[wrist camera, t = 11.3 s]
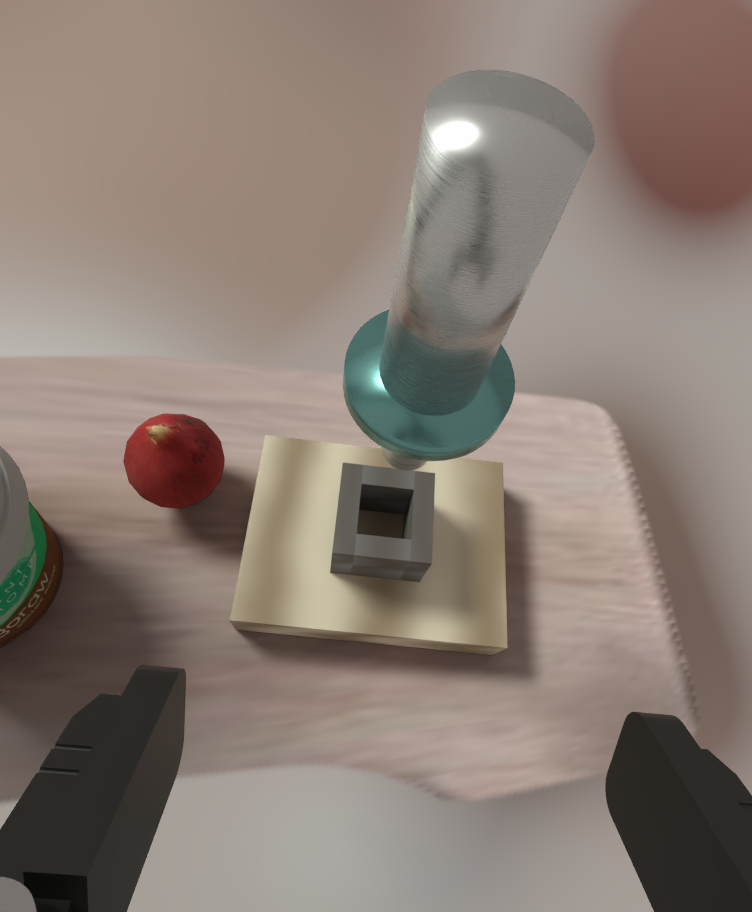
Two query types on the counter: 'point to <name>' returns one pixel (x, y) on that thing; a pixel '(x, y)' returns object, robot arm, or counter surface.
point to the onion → (174, 460)
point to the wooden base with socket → (374, 549)
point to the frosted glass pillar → (465, 264)
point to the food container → (24, 556)
